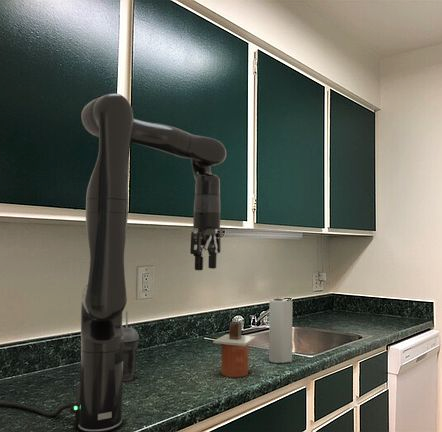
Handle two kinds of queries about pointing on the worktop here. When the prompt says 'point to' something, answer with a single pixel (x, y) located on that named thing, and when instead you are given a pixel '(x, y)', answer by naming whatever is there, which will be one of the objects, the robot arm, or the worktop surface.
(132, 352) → the beverage cup
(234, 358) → the tumbler
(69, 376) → the worktop surface
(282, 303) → the paper towel roll
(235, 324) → the lid
